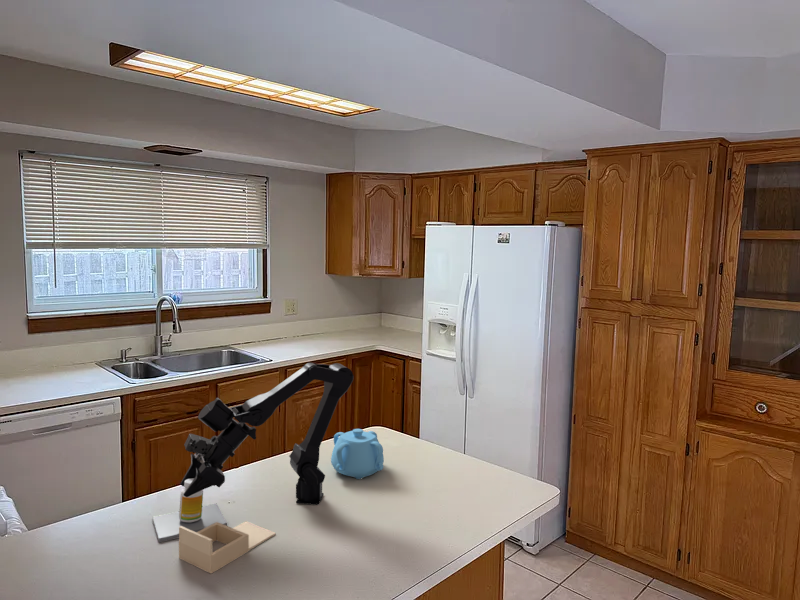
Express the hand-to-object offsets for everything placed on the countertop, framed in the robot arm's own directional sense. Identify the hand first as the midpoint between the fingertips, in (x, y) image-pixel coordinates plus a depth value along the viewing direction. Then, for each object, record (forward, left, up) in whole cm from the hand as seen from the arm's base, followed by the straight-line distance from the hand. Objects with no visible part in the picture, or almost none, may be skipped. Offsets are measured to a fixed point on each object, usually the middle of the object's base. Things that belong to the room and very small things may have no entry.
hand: (183, 490), depth 142 cm
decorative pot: (-38, -39, -9) cm, 55 cm away
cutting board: (-1, -1, -9) cm, 9 cm away
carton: (-15, +8, -9) cm, 19 cm away
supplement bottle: (-1, -1, -8) cm, 8 cm away
